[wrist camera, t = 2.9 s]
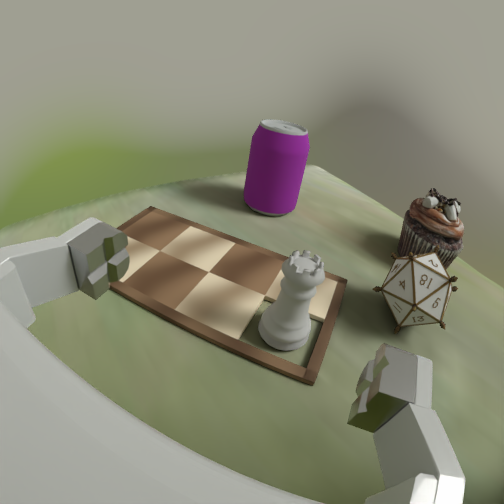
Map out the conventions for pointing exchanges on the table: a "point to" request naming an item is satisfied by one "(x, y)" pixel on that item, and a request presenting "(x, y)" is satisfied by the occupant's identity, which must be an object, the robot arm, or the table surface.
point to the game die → (417, 289)
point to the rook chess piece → (292, 303)
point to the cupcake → (432, 228)
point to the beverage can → (276, 167)
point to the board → (215, 285)
